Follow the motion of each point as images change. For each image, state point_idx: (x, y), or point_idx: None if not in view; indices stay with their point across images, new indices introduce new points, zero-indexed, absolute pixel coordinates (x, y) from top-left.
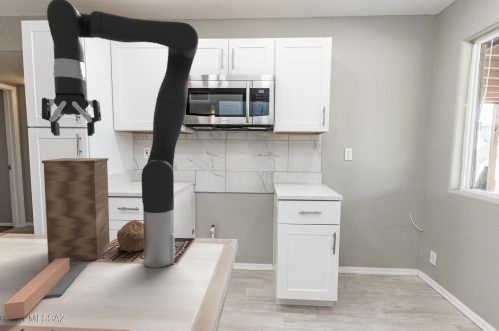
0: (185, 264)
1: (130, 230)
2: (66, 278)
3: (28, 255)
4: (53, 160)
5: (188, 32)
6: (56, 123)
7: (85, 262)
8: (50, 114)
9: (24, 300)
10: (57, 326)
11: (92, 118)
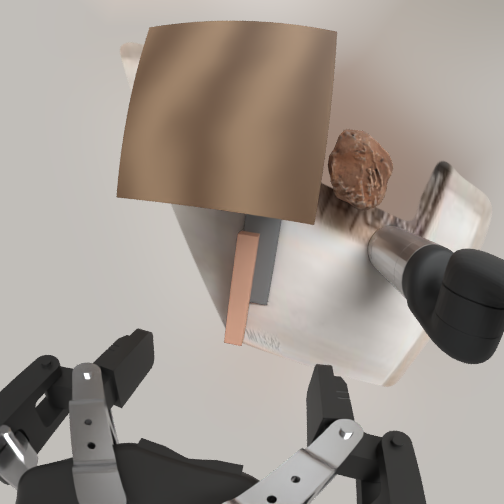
0: None
1: (360, 198)
2: (263, 265)
3: None
4: (146, 184)
5: None
6: (123, 396)
7: None
8: (43, 387)
9: (241, 343)
10: (277, 355)
11: (346, 471)
